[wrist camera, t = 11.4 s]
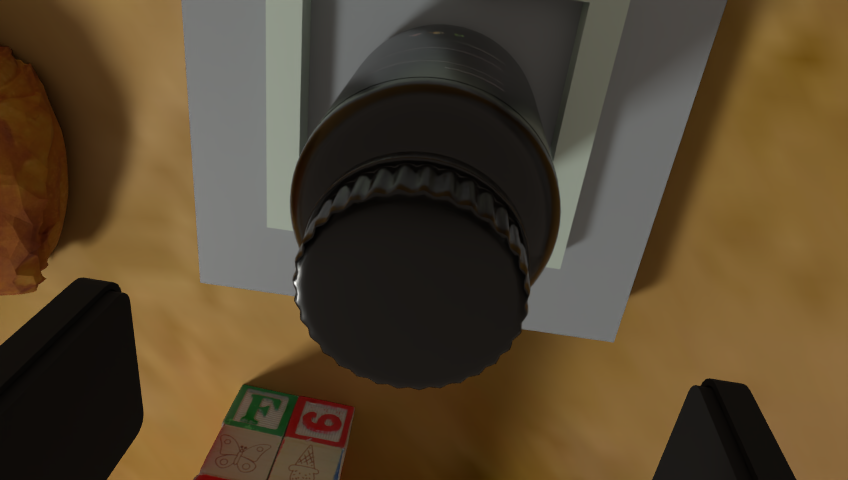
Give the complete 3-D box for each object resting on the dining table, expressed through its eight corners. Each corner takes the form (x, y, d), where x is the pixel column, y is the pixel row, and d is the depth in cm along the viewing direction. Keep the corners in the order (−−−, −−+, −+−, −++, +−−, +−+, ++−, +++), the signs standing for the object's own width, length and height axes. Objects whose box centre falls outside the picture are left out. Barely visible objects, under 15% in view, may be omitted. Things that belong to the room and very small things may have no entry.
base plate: (745, -142, 21) (793, -148, 17) (603, 308, 29) (618, 360, 26) (199, -214, 21) (147, -233, 18) (221, 253, 30) (189, 298, 26)
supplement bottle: (532, 202, 24) (567, 438, 14) (356, 200, 25) (264, 425, 15) (542, 15, 21) (600, 140, 11) (340, 18, 22) (205, 139, 11)
